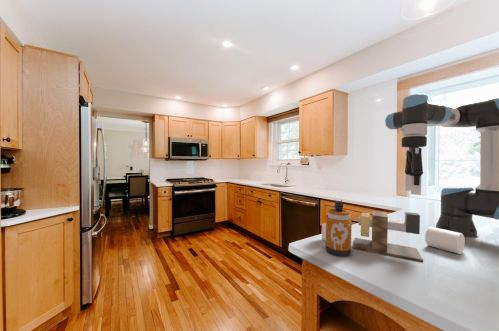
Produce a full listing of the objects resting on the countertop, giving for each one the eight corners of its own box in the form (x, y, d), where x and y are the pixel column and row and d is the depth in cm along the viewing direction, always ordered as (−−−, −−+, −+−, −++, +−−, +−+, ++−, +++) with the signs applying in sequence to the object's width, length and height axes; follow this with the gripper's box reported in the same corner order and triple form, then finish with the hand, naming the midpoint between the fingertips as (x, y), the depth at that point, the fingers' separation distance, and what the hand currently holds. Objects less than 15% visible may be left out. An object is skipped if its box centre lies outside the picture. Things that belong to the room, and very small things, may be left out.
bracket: (416, 250, 84) (417, 215, 84) (423, 262, 73) (424, 222, 73) (355, 239, 95) (355, 208, 95) (353, 248, 84) (353, 213, 84)
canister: (325, 254, 78) (326, 201, 78) (325, 244, 88) (326, 197, 88) (352, 259, 75) (353, 203, 75) (349, 247, 85) (350, 198, 85)
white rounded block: (457, 256, 79) (457, 235, 79) (424, 247, 87) (425, 227, 87) (467, 250, 85) (468, 230, 85) (436, 242, 93) (436, 224, 93)
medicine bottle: (346, 243, 89) (346, 215, 89) (332, 245, 87) (332, 216, 87) (334, 237, 96) (335, 211, 96) (321, 239, 94) (322, 212, 94)
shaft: (417, 231, 80) (417, 213, 80) (419, 234, 77) (419, 215, 77) (358, 223, 90) (359, 207, 90) (358, 225, 87) (358, 208, 87)
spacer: (369, 231, 90) (369, 213, 90) (369, 237, 83) (369, 217, 83) (361, 230, 92) (361, 212, 92) (360, 235, 85) (361, 216, 85)
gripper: (397, 140, 92) (396, 188, 92) (406, 132, 70) (404, 195, 71) (419, 139, 88) (418, 190, 88) (435, 131, 67) (433, 197, 67)
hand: (412, 192), depth 80 cm, fingers open, 13 cm apart
